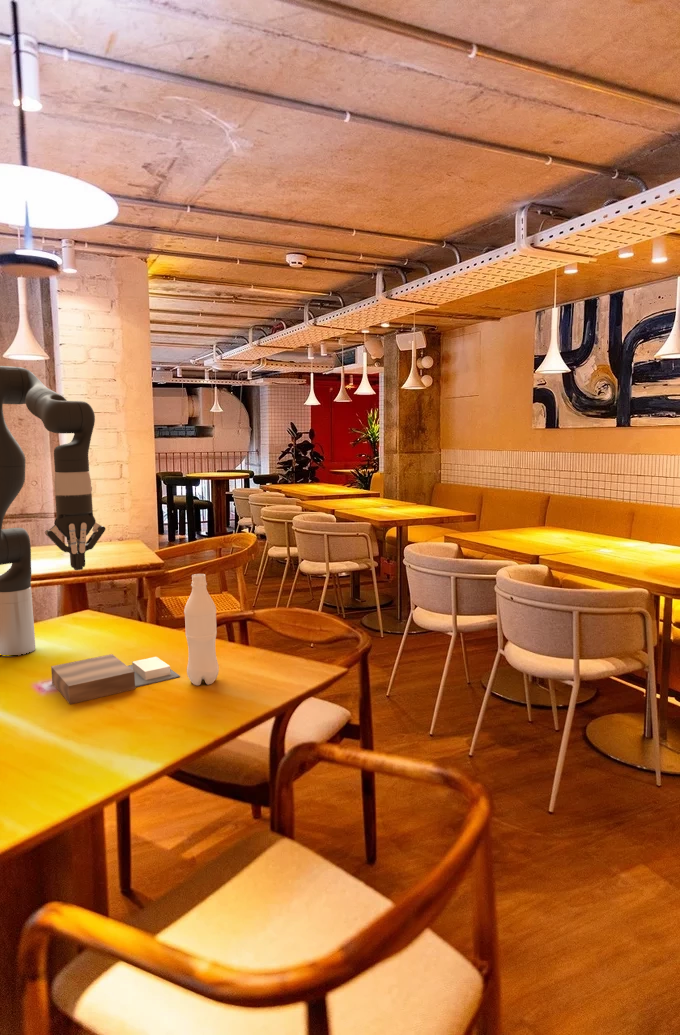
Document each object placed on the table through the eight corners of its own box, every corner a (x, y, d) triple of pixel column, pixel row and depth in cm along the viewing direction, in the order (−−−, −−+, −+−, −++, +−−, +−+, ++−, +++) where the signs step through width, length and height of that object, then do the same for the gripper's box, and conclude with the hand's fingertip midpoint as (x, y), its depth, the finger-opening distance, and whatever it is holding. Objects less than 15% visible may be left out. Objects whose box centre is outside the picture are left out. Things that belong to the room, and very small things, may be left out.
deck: (52, 683, 153) (51, 666, 153) (113, 669, 161) (112, 654, 161) (69, 704, 140) (68, 686, 140) (135, 688, 148) (134, 671, 148)
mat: (113, 669, 161) (113, 668, 161) (156, 660, 168) (156, 659, 168) (133, 687, 149) (133, 686, 149) (180, 676, 156) (179, 675, 156)
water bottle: (225, 678, 154) (221, 573, 151) (206, 689, 147) (202, 579, 145) (200, 674, 157) (195, 571, 154) (180, 684, 150) (175, 577, 148)
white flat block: (156, 656, 164) (156, 664, 164) (132, 661, 160) (132, 669, 160) (170, 666, 156) (170, 674, 157) (145, 671, 153) (145, 680, 153)
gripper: (99, 489, 153) (103, 563, 155) (37, 493, 145) (42, 570, 147) (109, 491, 147) (113, 568, 149) (45, 495, 139) (50, 576, 141)
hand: (78, 569), depth 148 cm, fingers closed
